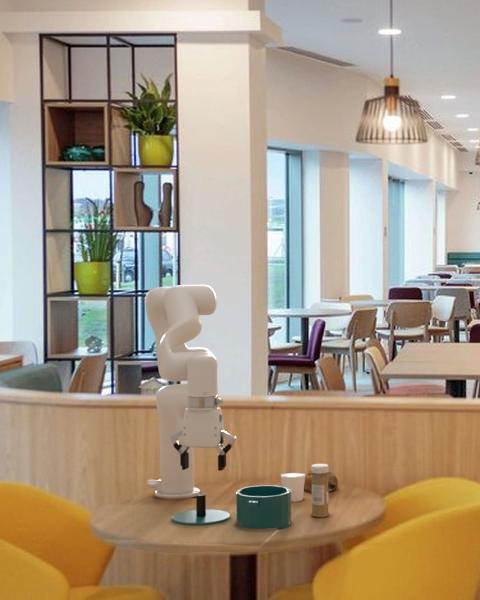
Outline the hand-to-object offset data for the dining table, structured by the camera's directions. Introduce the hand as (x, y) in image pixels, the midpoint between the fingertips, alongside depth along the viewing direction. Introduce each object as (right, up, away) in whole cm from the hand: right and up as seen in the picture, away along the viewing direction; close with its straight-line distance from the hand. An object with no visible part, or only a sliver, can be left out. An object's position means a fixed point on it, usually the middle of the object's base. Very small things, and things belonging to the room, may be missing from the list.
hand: (203, 469), depth 274 cm
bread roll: (+27, -12, +38) cm, 48 cm away
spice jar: (+29, -13, +6) cm, 33 cm away
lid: (-1, -13, +1) cm, 13 cm away
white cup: (+20, -13, +25) cm, 35 cm away
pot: (+16, -14, -3) cm, 21 cm away
